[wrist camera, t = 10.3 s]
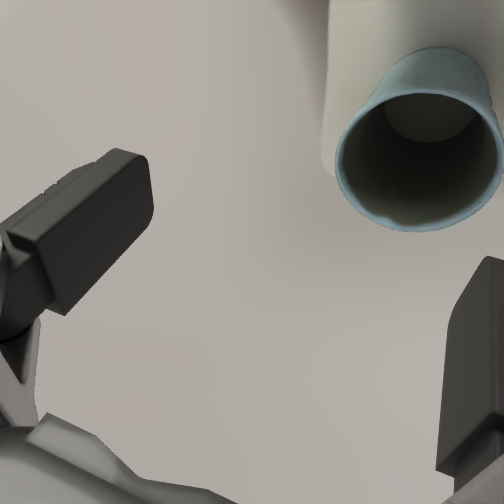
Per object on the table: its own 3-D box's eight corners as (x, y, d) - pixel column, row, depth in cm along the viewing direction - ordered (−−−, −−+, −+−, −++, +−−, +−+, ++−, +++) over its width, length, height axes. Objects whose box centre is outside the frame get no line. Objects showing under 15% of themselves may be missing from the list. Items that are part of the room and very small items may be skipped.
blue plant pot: (363, 147, 40) (330, 219, 32) (375, 29, 34) (338, 83, 26) (481, 160, 37) (478, 245, 29) (520, 33, 30) (532, 96, 22)
